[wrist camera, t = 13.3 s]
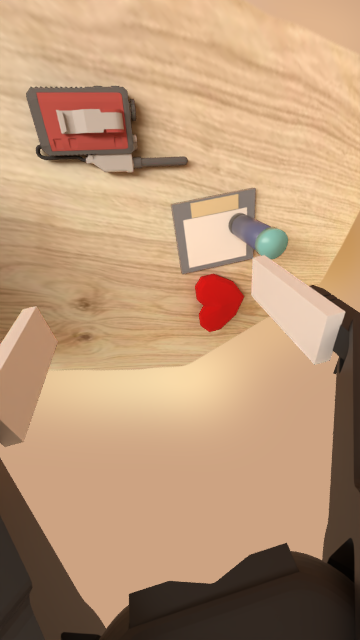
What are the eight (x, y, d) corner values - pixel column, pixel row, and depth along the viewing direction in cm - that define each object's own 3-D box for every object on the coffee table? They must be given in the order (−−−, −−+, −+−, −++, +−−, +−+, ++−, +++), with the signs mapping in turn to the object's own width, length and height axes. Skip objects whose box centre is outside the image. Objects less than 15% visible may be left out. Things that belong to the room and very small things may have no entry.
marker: (227, 237, 42) (259, 262, 33) (227, 214, 40) (260, 233, 30) (248, 233, 43) (286, 256, 33) (249, 209, 40) (289, 227, 31)
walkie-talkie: (46, 175, 33) (185, 169, 36) (37, 177, 30) (192, 170, 33) (20, 89, 28) (184, 90, 31) (5, 80, 25) (192, 81, 28)
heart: (236, 265, 49) (190, 276, 47) (247, 269, 45) (198, 281, 43) (239, 317, 54) (198, 328, 52) (249, 324, 50) (205, 337, 49)
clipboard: (181, 272, 45) (182, 274, 45) (170, 204, 38) (171, 205, 38) (251, 256, 46) (253, 258, 46) (253, 187, 39) (256, 188, 39)
